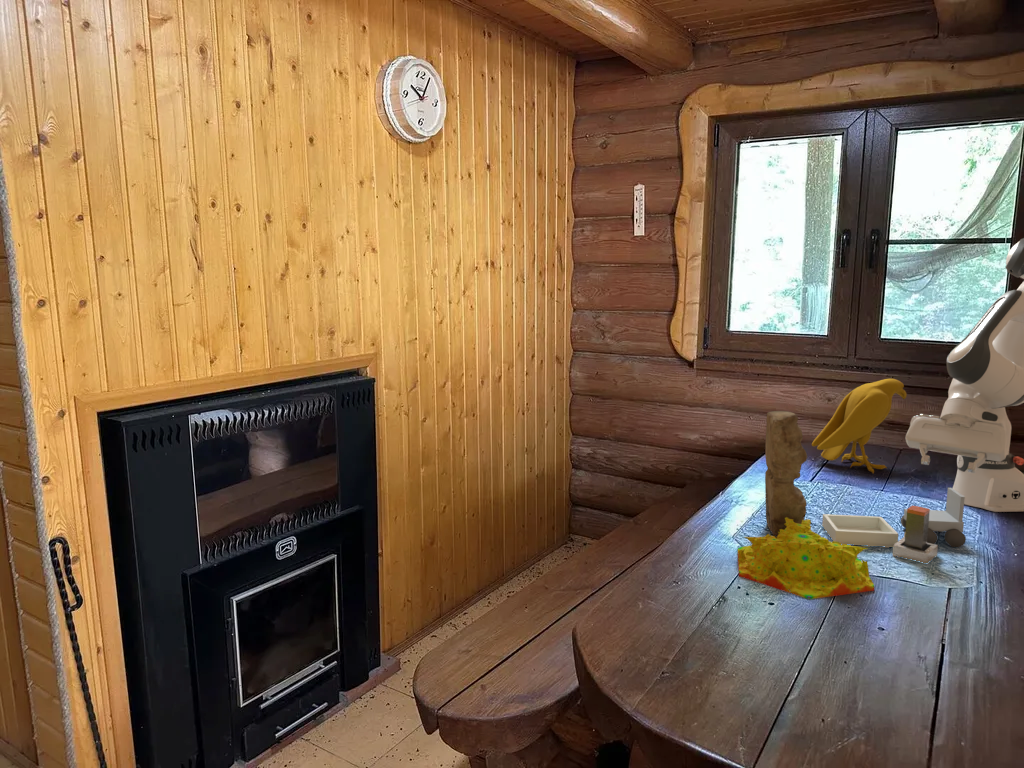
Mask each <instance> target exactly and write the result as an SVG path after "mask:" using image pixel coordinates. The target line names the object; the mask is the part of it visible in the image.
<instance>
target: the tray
mask: <svg viewBox="0 0 1024 768" xmlns="http://www.w3.org/2000/svg"><path fill="white" fill-rule="evenodd" d="M821 525H822V526H823V527H824V529H825V530H826V531H827V533H828V534H829V535H830V537H831V538H832V540H833V541H836V542H839V543H841V544H854V545H868V546H867V547H870V546H885V547H884V548H889V547H893V545H894V544H895V543H897V542H898V541H899V532H897V531H896V530H895V529H894V527H892V526H891V525H890V524H889V522H887V521H886V520H885V519H884V518H883V517H882V516H872V515H871V516H869V515H848V514H829V513H828V514H827V513H822V524H821ZM824 529H823V530H824ZM825 530H824V531H825ZM827 533H826V534H827ZM828 534H827V535H828ZM830 537H829V538H830ZM832 540H831V541H832ZM833 541H832V542H833Z"/></svg>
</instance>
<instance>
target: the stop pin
mask: <svg viewBox="0 0 1024 768" xmlns="http://www.w3.org/2000/svg"><path fill="white" fill-rule="evenodd" d="M906 509H907V519H906V529H905V532H904V533H905V544H904V546H905V547H909V548H913V549H917V550H921V551H925V550H926V548H927V536H928V525H929V513H930V510H931V509H930V508H928V507H927V508H926V507H922V506H917V505H912V504H911V505H910V506H909V507H908V508H906Z"/></svg>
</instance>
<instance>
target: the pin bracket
mask: <svg viewBox="0 0 1024 768" xmlns="http://www.w3.org/2000/svg"><path fill="white" fill-rule="evenodd" d="M904 544H905V537H904V536H903V537H902V538H900V539H898V542H897V543H895V544H894V545H893V548H892V555H893V557H896V556H898V557H897V558H899V557H903V558H907V559H912V560H916V561H920V562H923V563H928V562H929V561H931V560H932V559H933V558H934V557H935V556H936V557H937V556H938V550H939V546H938V544H936V543H935V544H931V543H927V548H926V550H925V551H921V550H917V549H913V548H909V547H905V546H904ZM892 555H891V556H892ZM936 557H935V558H936ZM903 558H902V559H903ZM935 558H934V559H935ZM907 559H906V560H907ZM934 559H933V560H934ZM931 562H932V561H931ZM929 563H930V562H929ZM929 563H928V564H929Z"/></svg>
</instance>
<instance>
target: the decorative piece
mask: <svg viewBox="0 0 1024 768" xmlns="http://www.w3.org/2000/svg"><path fill="white" fill-rule="evenodd" d="M785 520H786V523H785V524H784V525H786V526H787V527H786V529H785V530H783V529H779V530H780V532H778V533H779V534H778V536H777V537H776V536H774V535H771V534H769V533H767V534H766V535H764V536H743V538H745V539H747V540H748V541H749V542H750V543H751V545H745V546H739V547H737V566H738V569H737V570H738V577H740V578H744V579H746V580H750V581H752V582H756V583H759V584H762V585H764V586H768V587H770V588H774V589H777V590H780V591H783V592H785V593H789V594H791V593H792V594H793V595H794V594H795V596H798V597H800V598H804V599H807V600H813V599H814V600H815V599H823V598H829V597H837V596H844V595H851V594H857V593H858V594H859V593H866V592H874V591H875V584H874V582H873V580H872V578H871V576H870V570H869V563H868V561H867V560H866V561H865V560H863V559H861V558H859V557H858V555H859V554H861V553H862V552H863V551H864V550H868V549H869V547H865V546H851V545H847V544H842V545H841V543H839V542H836V541H832V540H830V539H828V538H826V537H823V536H821V535H820V534H819V533H816V532H815V531H813V530H812V521H811V519H809V518H805V519H804V520H802V523H801V524H798V523H795V522H793V519H789V518H787V517H786V518H785ZM792 594H791V595H792Z"/></svg>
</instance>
